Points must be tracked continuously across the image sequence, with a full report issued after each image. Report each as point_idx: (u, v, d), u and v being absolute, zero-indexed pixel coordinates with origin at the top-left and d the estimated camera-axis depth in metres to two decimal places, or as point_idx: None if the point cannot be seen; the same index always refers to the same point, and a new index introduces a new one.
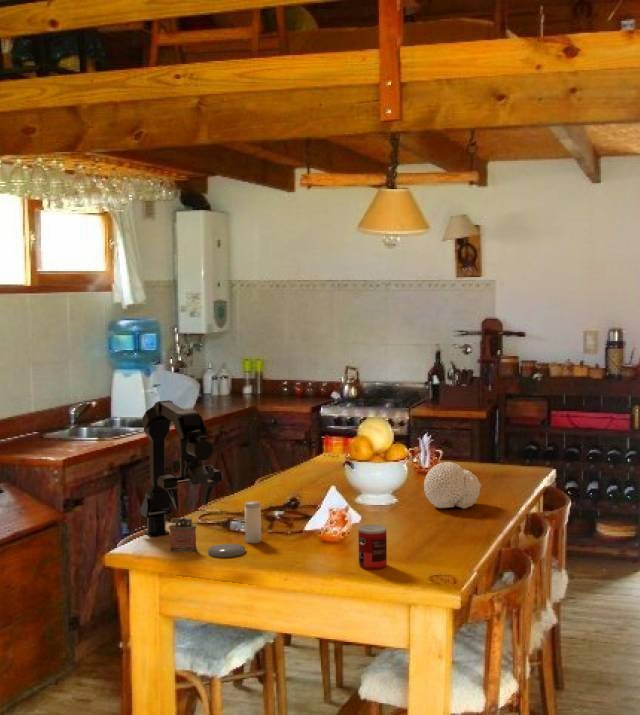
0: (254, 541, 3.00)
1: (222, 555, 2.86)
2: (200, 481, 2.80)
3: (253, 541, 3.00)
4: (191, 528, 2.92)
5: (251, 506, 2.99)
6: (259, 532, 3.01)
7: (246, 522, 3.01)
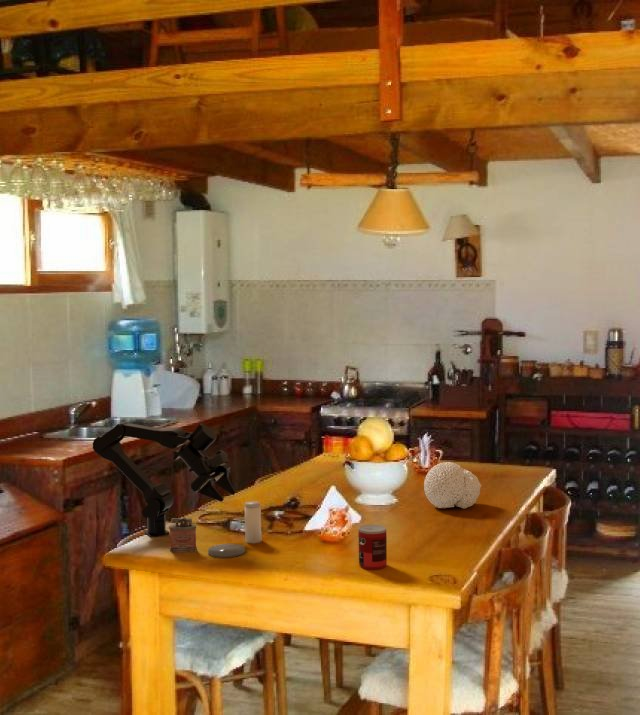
0: (254, 541, 3.00)
1: (222, 555, 2.86)
2: (224, 459, 3.03)
3: (253, 541, 3.00)
4: (191, 528, 2.92)
5: (251, 506, 2.99)
6: (259, 532, 3.01)
7: (246, 522, 3.01)
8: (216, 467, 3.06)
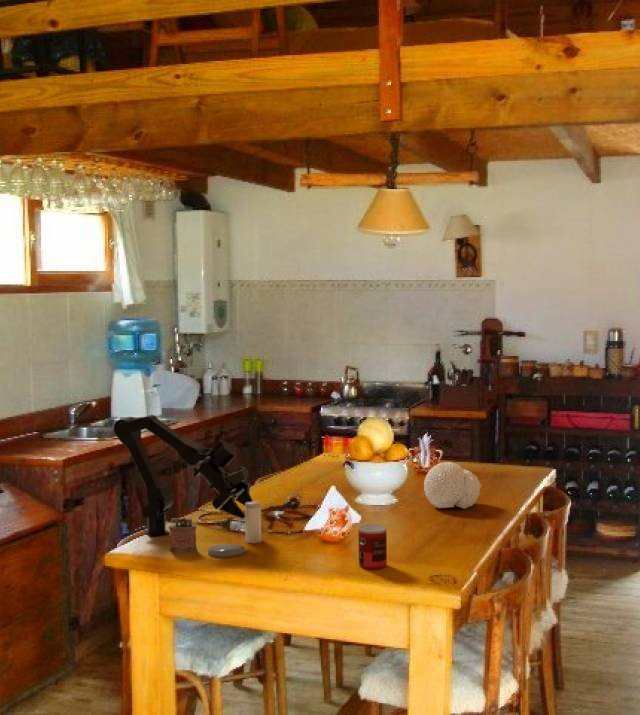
0: (254, 541, 3.00)
1: (222, 555, 2.86)
2: (245, 475, 3.01)
3: (253, 541, 3.00)
4: (191, 528, 2.92)
5: (251, 506, 2.99)
6: (259, 532, 3.01)
7: (246, 522, 3.01)
8: (237, 483, 3.05)
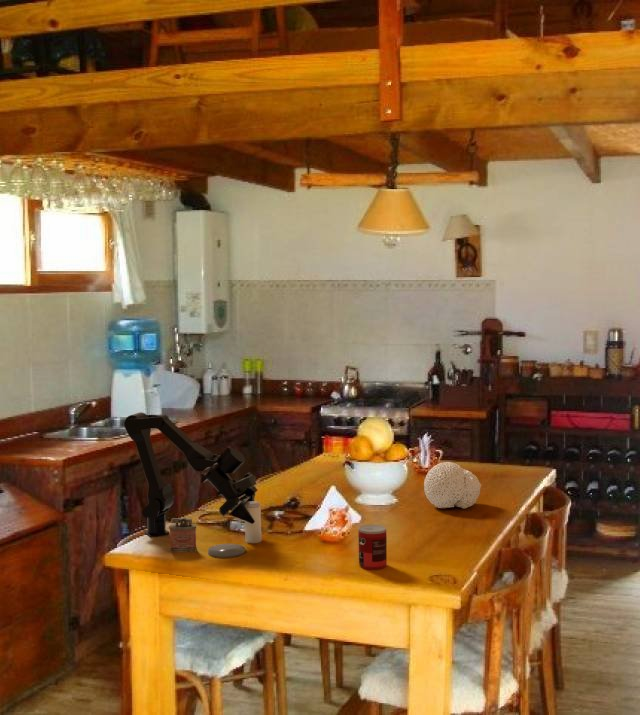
0: (254, 541, 3.00)
1: (222, 555, 2.86)
2: (253, 482, 3.01)
3: (253, 541, 3.00)
4: (191, 528, 2.92)
5: (251, 506, 2.99)
6: (259, 532, 3.01)
7: (246, 522, 3.01)
8: (244, 490, 3.04)
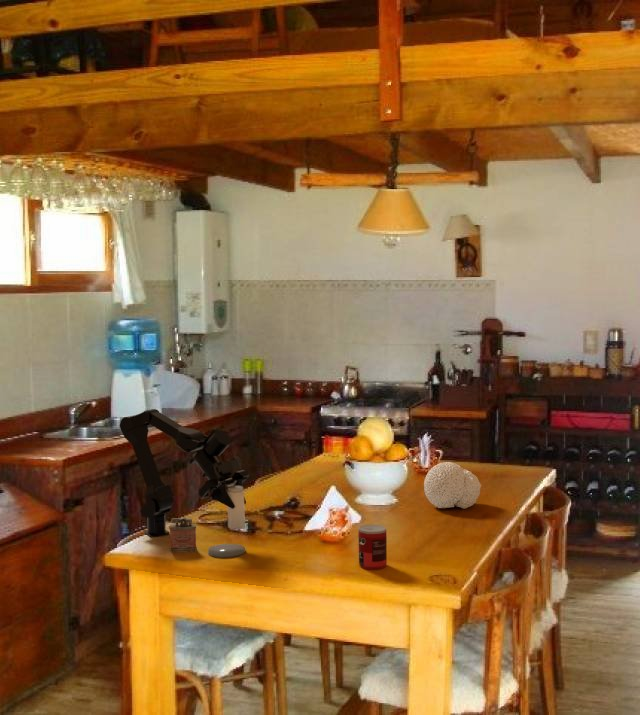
0: (235, 527, 2.92)
1: (222, 555, 2.86)
2: (235, 466, 2.92)
3: (234, 526, 2.92)
4: (191, 528, 2.92)
5: (232, 490, 2.91)
6: (241, 518, 2.92)
7: None
8: (230, 474, 2.96)
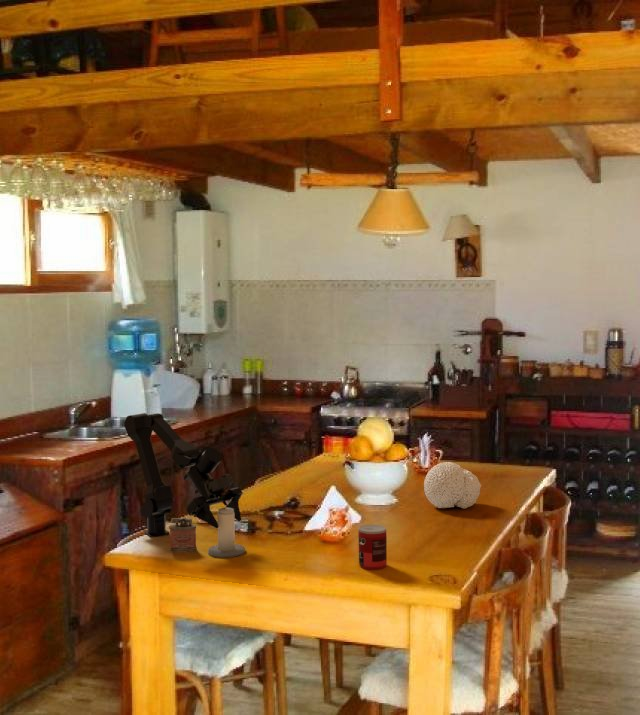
0: (223, 549, 2.89)
1: (222, 555, 2.86)
2: (225, 484, 2.89)
3: (222, 549, 2.89)
4: (191, 528, 2.92)
5: (221, 512, 2.88)
6: (230, 540, 2.89)
7: (218, 528, 2.90)
8: (222, 491, 2.93)
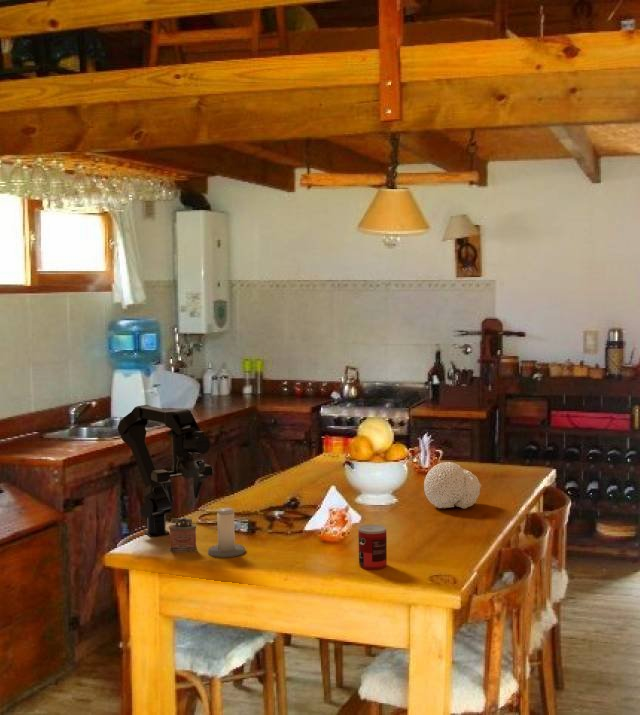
0: (223, 549, 2.89)
1: (222, 555, 2.86)
2: (191, 475, 2.95)
3: (223, 549, 2.89)
4: (191, 528, 2.92)
5: (221, 512, 2.88)
6: (230, 540, 2.89)
7: None
8: None
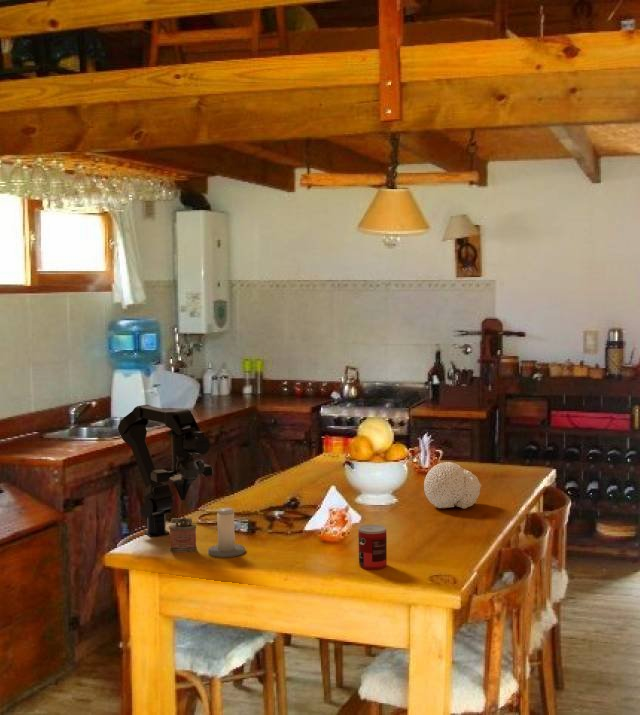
0: (223, 549, 2.89)
1: (222, 555, 2.86)
2: (191, 475, 2.95)
3: (223, 549, 2.89)
4: (191, 528, 2.92)
5: (221, 512, 2.88)
6: (230, 540, 2.89)
7: None
8: None
